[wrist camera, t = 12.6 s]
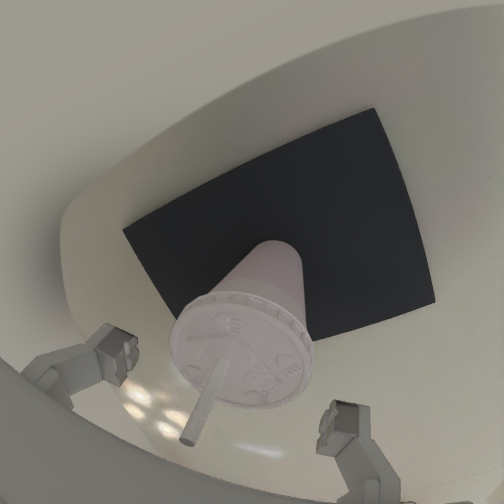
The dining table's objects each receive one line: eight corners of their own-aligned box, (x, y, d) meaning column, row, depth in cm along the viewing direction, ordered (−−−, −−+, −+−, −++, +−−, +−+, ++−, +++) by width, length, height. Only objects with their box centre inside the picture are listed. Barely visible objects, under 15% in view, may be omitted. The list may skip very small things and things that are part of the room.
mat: (373, 108, 16) (374, 107, 15) (434, 299, 19) (435, 302, 19) (124, 228, 23) (122, 230, 23) (208, 361, 27) (207, 364, 27)
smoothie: (254, 202, 19) (129, 350, 7) (340, 251, 19) (342, 450, 7) (216, 277, 22) (110, 433, 10) (292, 319, 22) (247, 498, 10)
